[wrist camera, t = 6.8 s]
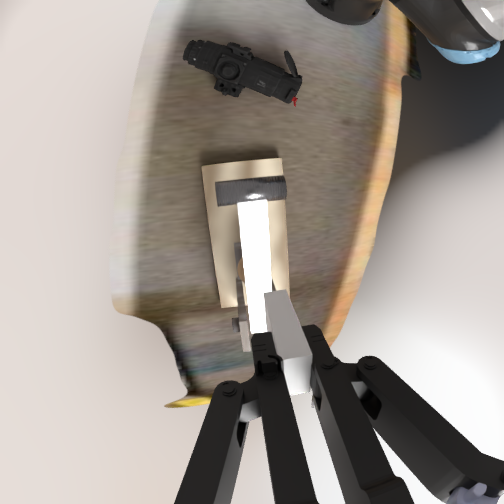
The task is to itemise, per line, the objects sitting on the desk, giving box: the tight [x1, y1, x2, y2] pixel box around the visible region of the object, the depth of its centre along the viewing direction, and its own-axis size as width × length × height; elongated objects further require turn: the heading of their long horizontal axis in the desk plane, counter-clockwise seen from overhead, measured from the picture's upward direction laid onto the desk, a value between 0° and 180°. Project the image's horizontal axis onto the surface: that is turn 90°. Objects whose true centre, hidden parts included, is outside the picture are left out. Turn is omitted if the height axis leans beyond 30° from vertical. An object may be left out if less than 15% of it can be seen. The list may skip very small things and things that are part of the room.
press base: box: [201, 158, 290, 352], centre depth 38 cm, size 12×24×15 cm, turn 5°
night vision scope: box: [183, 40, 302, 107], centre depth 33 cm, size 8×18×10 cm
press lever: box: [215, 175, 287, 333], centre depth 33 cm, size 7×21×3 cm, turn 5°
